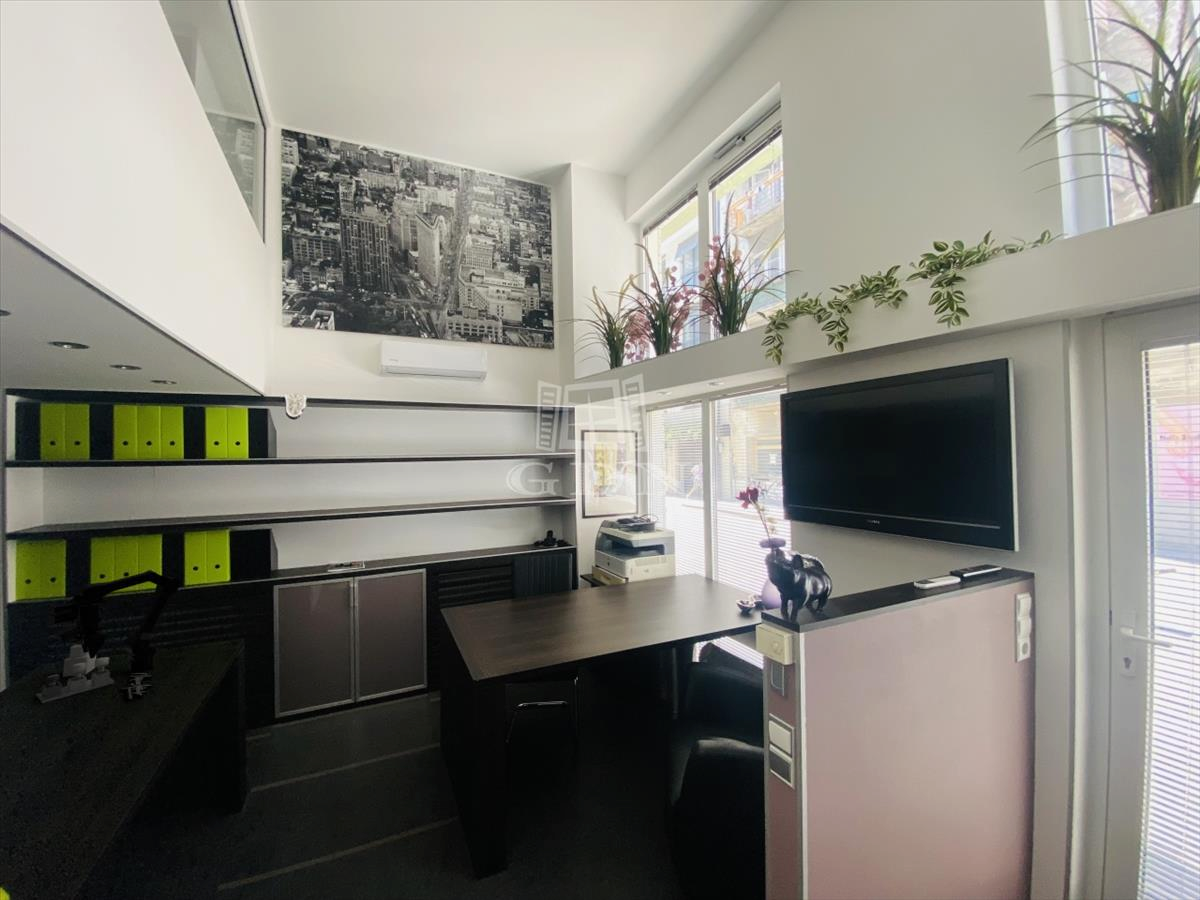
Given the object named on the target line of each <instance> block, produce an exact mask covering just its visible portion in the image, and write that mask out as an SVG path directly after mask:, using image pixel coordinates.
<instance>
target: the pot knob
mask: <svg viewBox="0 0 1200 900" xmlns="http://www.w3.org/2000/svg"><path fill="white" fill-rule="evenodd" d="M59 680H60V674H57V673H56V674H52V675H47V676H46V678H45V683H46V684H49V686H48V687H52V686H56V682H59Z"/></svg>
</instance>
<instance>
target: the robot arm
mask: <svg viewBox="0 0 1200 900" xmlns="http://www.w3.org/2000/svg"><path fill="white" fill-rule="evenodd" d="M148 582H150V583H152V584H154V585H156V587H155V590H154V591H155V593H154V599H153V600H152V603H151V604H150V607H149V609H148V610H147V612H146V613H145V616H144V618H143V620H142V622H141V623H140V626H139V628H138V629H137V631H136V632H135V633H134V634H128V636H127V640H126V641H125V642H124V643H123V645H124V651H126V652H127V653H130V655H131V657H130V658H131V660H129V662H128V664H129V666H128V671H130V672H131V674H133V673H144V672H146V671H151V670H153V669H155V667H154V656H155V654H156V652H157V649H155V648H153V647H151V643H152V635H153V634H152V633H153V630H154V629H155V626H156V625H157V623H158V621H159V619H160V616H161V614H162V612H163V611H164V609H165V606H166V605H167V604H168V603H167V602H168V601H169V599H171V597H173V596H174V595H175V593H176V592H177V591H178V590H179V588H180V586H181V581H180V579H178V578H175V577H171V576H164V575H162V574H159V573H157V572H156V571H152V570H147V571H144V572H141V573H137V574H134V575H130V576H126V577H122V578H118V579H116V580H112V581H111V580H110V581H105V582H95V583H94V582H93V583H87V584H83V585H81V586H80V587H79V588H78V589H77V592H76V594H75V595H74V597H72V599H70V601H69V602H68V603H66V604H62V605H53V606H52V607H51V610H50V612H49V614H48V620H49V623H50V625H51V626H54V625H59V624H63V623H64V624H65V623H67V622H72V621H75V620H76V619H77V620H76V623H75V624H74V625H71V626H69V627H66V628H65V629H62V630H60V631H57V632H56V633H55V634H56V635H57V637H58V640H60V641H61V642H62V643H64V642H68V640H71V639H72V638H73V639H74V638H75V639H76V640H79V643H81V646H82V649H83V652H84V653H86V652H89V656H90V659H92V658H94V657H95V656H96V657H97V654H98V652H99V651H100V649H101V647H102V645H103V644H104V643H105V641H107V640H108V635H107V634H106V633H105V632H103V631H102V627H101V621H102V617H101V604H107V603H108V602H109V601H108V600H107V599H105V598H104V597H106V596H108V595H109V594H111V593H113V592H116V591H119V590H124V589H126V588H131V587H134V586H137V585H141V584H144V583H148Z"/></svg>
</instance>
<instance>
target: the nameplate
mask: <svg viewBox="0 0 1200 900" xmlns="http://www.w3.org/2000/svg"><path fill="white" fill-rule="evenodd" d="M153 677H154V675H152V674H149V673H146V672H139V673H130V674H129V676H128V679H129V680H128V685H129V686H128V687H127V686H126V687H122V688H119V689H118V694H120V693H126V696H127V697H126V698H127V703H131V702H133V701H134V700H133V699H134V698H136V699H137V698H138V699H143V698H144V697H145V696H146V695H147V693H148V689H153V688H154V684H150V683H149V684H143V683H144V682H145V681H148V680H152V679H153Z"/></svg>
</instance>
